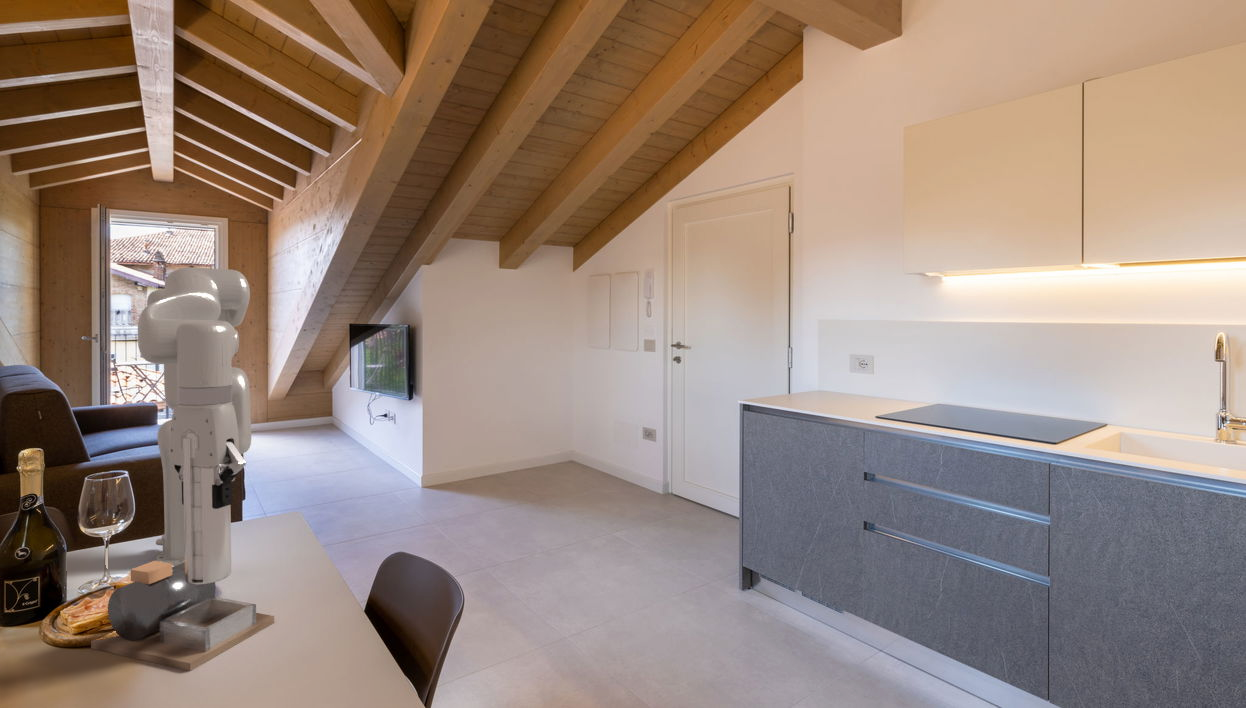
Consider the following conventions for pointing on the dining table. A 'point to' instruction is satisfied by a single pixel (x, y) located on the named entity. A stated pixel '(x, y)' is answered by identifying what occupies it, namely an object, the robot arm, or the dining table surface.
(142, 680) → the dining table surface
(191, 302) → the robot arm
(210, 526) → the silver tall cylinder
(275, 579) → the dining table surface
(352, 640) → the dining table surface
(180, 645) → the motor mount
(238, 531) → the dining table surface
